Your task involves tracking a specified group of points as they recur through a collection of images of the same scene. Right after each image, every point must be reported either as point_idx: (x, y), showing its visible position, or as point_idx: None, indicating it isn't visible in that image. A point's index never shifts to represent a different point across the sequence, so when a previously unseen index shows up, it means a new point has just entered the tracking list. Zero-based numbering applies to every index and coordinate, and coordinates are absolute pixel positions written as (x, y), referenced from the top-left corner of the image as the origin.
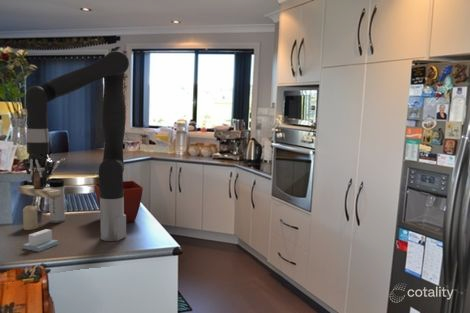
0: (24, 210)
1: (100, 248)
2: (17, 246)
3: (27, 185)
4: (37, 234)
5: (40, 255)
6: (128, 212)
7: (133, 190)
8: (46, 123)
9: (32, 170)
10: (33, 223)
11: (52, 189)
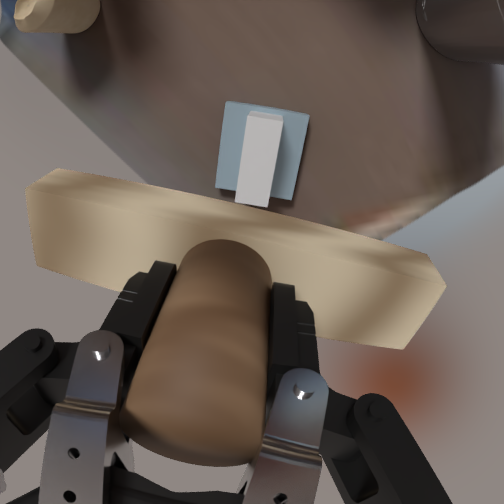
0: (28, 31)
1: (460, 129)
2: (184, 171)
3: (40, 209)
4: (265, 189)
5: (316, 219)
6: None
7: None
8: None
9: (132, 457)
10: (86, 12)
11: (376, 286)
